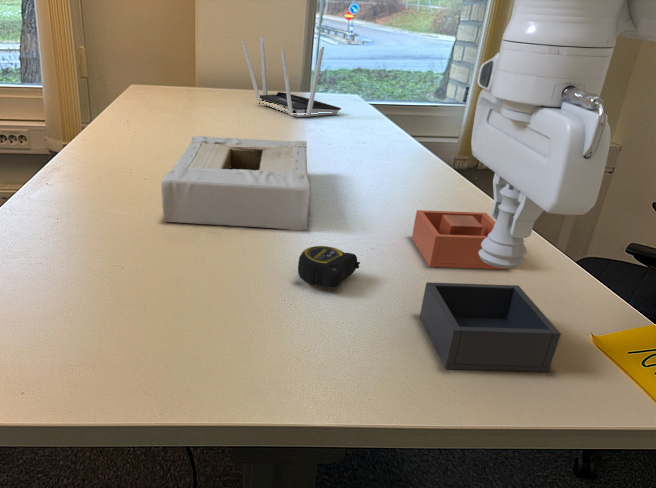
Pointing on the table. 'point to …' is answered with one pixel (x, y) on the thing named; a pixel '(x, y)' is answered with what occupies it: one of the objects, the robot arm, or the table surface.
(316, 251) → the tape measure
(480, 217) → the terracotta bin
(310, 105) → the wireless router
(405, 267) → the table surface
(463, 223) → the terracotta block
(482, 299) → the charcoal bin
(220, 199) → the box
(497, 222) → the rook chess piece
